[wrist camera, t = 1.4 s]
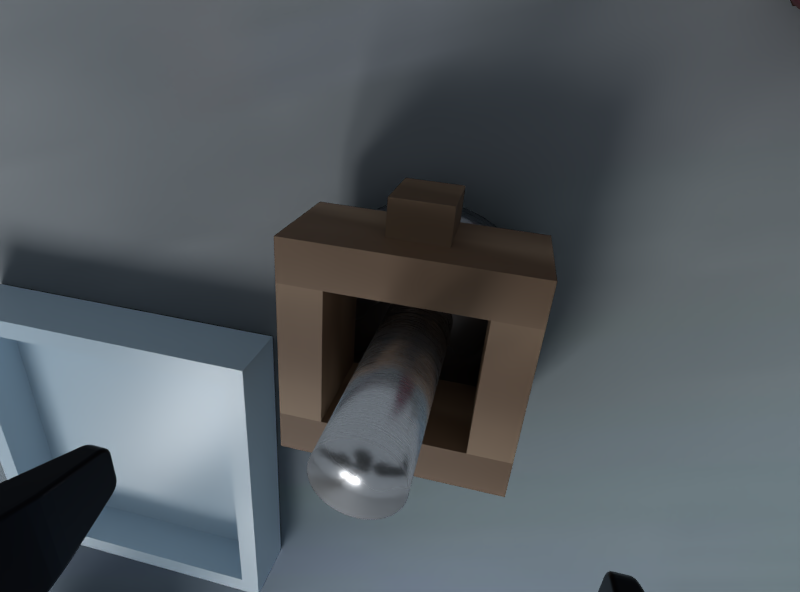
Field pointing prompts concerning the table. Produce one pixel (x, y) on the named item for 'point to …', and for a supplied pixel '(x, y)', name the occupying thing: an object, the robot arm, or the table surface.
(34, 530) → the robot arm
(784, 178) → the table surface
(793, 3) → the vegetable
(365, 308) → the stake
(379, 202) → the table surface
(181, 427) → the tray
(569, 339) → the table surface
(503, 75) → the table surface
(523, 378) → the ring
